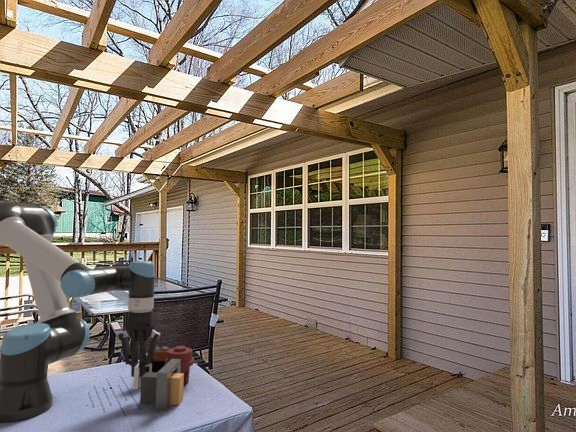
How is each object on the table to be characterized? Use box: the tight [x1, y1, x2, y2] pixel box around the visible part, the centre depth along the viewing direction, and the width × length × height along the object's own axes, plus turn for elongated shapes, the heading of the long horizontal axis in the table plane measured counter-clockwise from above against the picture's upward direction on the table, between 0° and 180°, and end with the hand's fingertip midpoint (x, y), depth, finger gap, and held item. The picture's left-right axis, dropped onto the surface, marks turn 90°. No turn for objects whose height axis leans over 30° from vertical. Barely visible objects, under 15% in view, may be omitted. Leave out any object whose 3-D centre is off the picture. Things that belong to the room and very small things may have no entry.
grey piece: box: [154, 359, 181, 413], centre depth 115 cm, size 3×13×11 cm, turn 179°
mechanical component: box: [165, 345, 195, 384], centre depth 130 cm, size 12×10×10 cm
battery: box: [152, 346, 172, 373], centre depth 137 cm, size 4×7×10 cm, turn 88°
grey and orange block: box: [139, 372, 185, 406], centre depth 115 cm, size 12×4×8 cm, turn 88°
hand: (137, 387), depth 115 cm, fingers closed
